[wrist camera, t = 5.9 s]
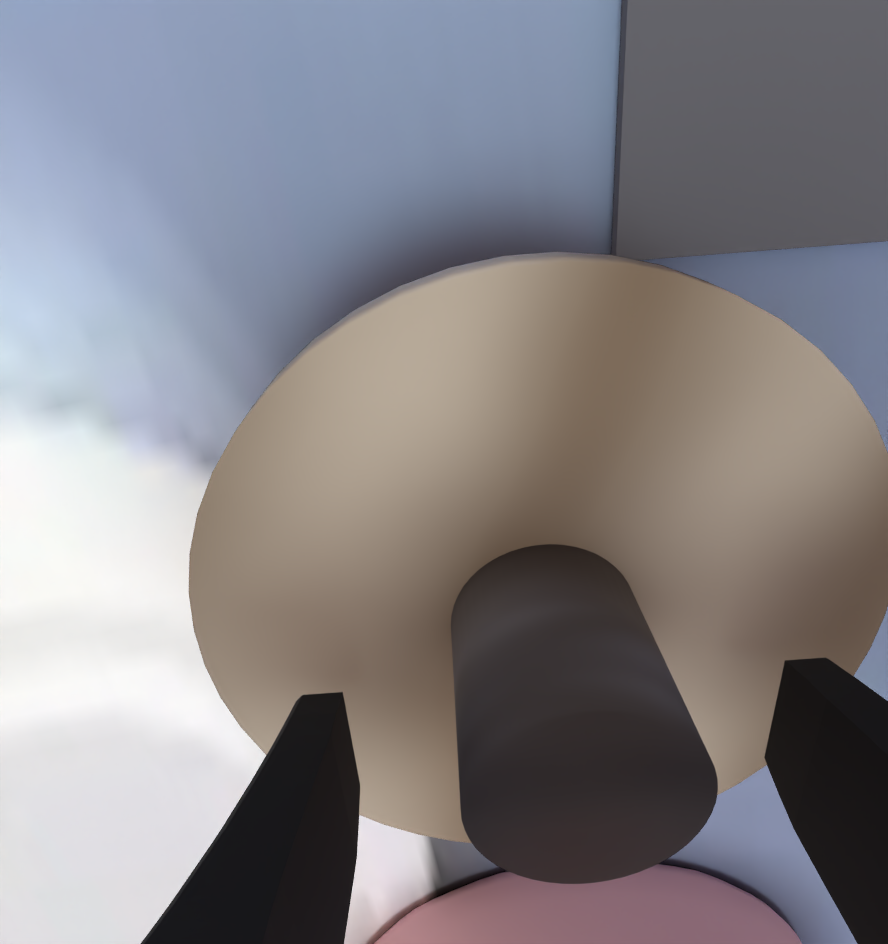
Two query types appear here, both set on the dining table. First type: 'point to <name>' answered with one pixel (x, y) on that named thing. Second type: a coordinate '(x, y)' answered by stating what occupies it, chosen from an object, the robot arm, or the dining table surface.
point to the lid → (544, 551)
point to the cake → (595, 913)
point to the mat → (750, 126)
